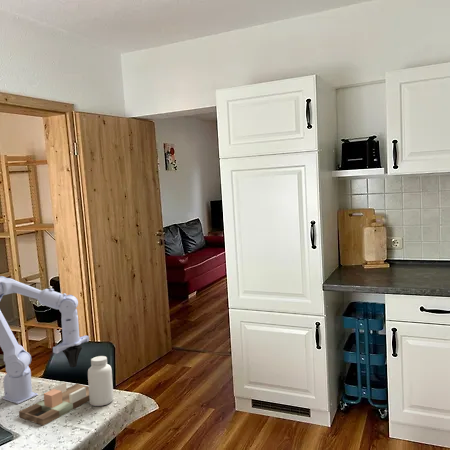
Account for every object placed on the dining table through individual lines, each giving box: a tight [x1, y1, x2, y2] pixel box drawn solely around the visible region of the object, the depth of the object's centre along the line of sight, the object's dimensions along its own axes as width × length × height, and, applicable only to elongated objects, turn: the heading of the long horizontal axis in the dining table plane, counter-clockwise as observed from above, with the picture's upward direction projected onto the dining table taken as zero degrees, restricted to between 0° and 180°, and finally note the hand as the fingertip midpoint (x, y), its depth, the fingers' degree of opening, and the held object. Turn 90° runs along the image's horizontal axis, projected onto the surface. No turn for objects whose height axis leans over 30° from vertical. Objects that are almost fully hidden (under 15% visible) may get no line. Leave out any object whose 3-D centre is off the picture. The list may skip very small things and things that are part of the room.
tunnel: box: [49, 381, 86, 404], centre depth 153 cm, size 11×6×3 cm, turn 59°
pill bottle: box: [87, 355, 114, 407], centre depth 152 cm, size 8×8×15 cm
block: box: [43, 389, 62, 408], centre depth 148 cm, size 4×4×4 cm
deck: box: [18, 383, 90, 427], centre depth 151 cm, size 12×24×2 cm, turn 149°
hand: (73, 366), depth 161 cm, fingers closed
